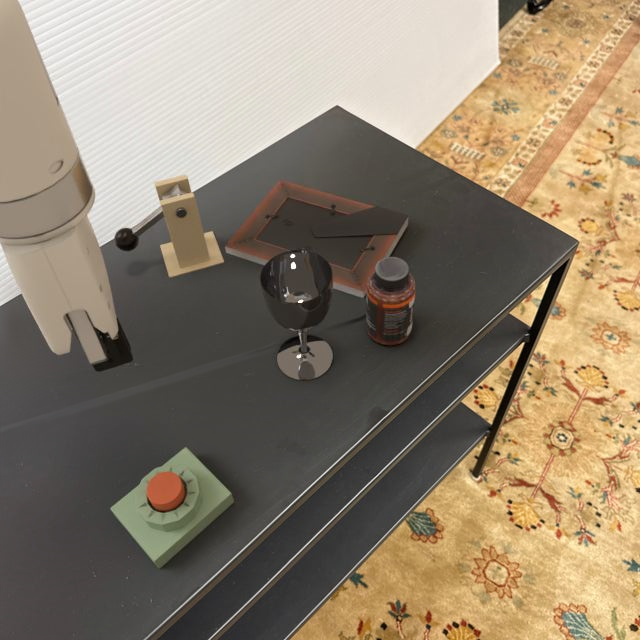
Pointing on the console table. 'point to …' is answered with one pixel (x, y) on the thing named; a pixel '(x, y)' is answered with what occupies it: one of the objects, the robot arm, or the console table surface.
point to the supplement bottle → (390, 302)
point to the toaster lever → (143, 224)
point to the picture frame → (320, 232)
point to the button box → (180, 523)
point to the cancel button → (165, 491)
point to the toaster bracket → (185, 231)
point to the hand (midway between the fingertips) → (113, 359)
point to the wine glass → (299, 309)
